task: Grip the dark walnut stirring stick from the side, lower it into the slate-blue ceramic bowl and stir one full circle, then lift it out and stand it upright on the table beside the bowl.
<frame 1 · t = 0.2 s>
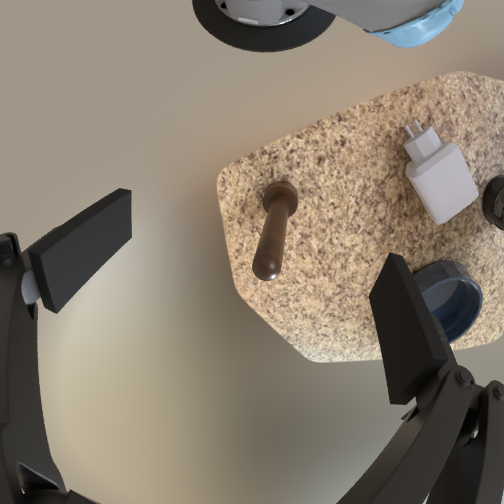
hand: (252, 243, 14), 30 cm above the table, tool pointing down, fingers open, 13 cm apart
bowl: (434, 297, 47), on the table
charger: (428, 162, 36), on the table
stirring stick: (281, 196, 43), on the table
french press: (501, 198, 35), on the table
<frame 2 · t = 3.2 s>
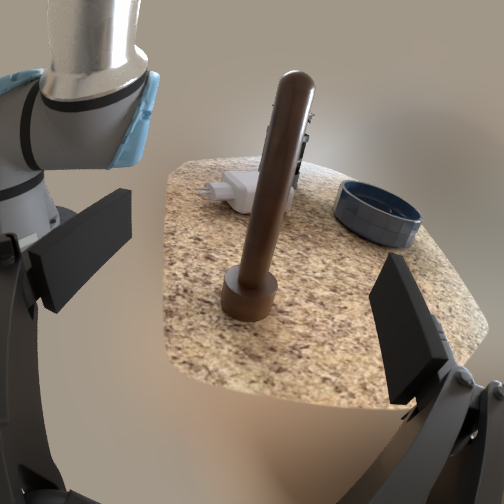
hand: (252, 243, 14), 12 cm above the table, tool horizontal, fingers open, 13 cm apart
bowl: (372, 226, 52), on the table
charger: (238, 204, 48), on the table
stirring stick: (245, 303, 28), on the table
french press: (275, 182, 63), on the table
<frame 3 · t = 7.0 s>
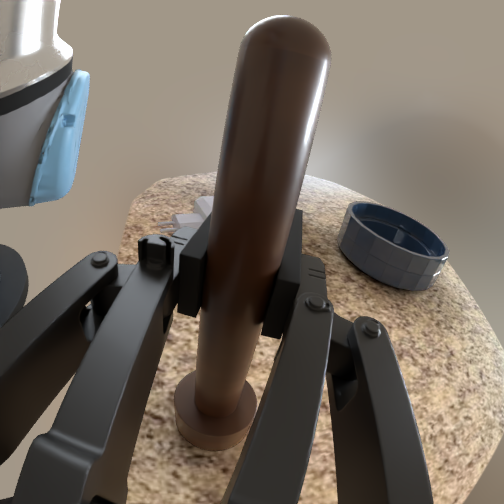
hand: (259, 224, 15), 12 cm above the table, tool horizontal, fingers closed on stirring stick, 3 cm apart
bowl: (386, 260, 42), on the table
charger: (215, 241, 37), on the table
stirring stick: (212, 418, 17), on the table, touching gripper
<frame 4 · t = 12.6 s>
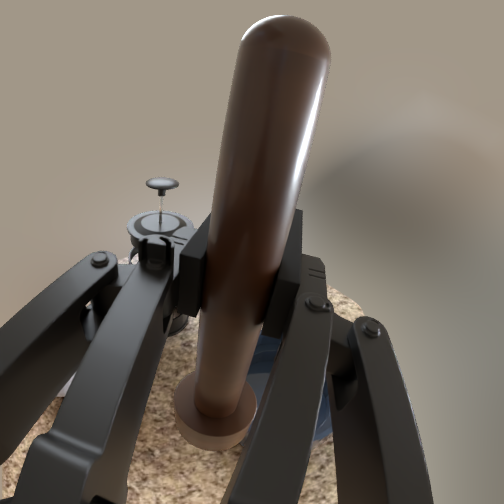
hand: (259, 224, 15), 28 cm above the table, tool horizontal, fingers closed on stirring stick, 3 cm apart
bowl: (277, 402, 35), on the table
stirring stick: (212, 419, 17), point 16 cm above the table, touching gripper
french press: (160, 314, 45), on the table
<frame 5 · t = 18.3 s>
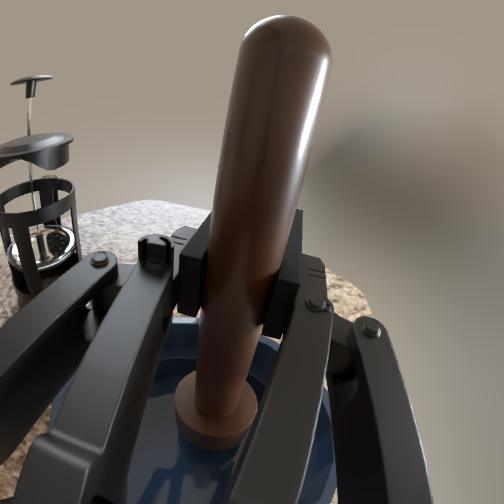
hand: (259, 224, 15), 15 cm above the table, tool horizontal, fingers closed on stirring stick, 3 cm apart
bowl: (194, 453, 16), on the table
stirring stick: (212, 419, 17), point 3 cm above the table, touching gripper
french press: (54, 291, 27), on the table
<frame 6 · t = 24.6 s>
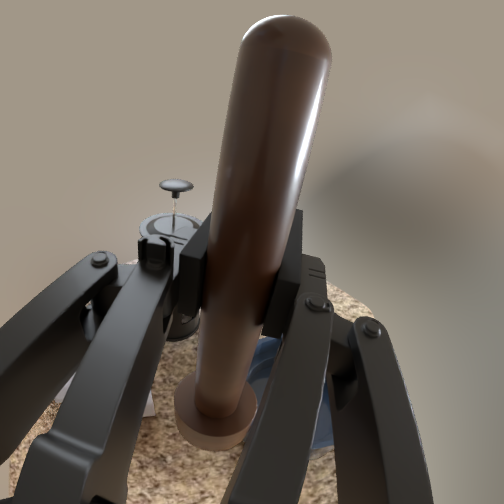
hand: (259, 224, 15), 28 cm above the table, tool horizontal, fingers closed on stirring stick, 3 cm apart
bowl: (290, 406, 35), on the table
charger: (97, 392, 30), on the table
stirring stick: (212, 419, 17), point 16 cm above the table, touching gripper
french press: (170, 318, 45), on the table
when the fingers open (12 cm above the table, at t = 29.6 s): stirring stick stays where it is, on the table.
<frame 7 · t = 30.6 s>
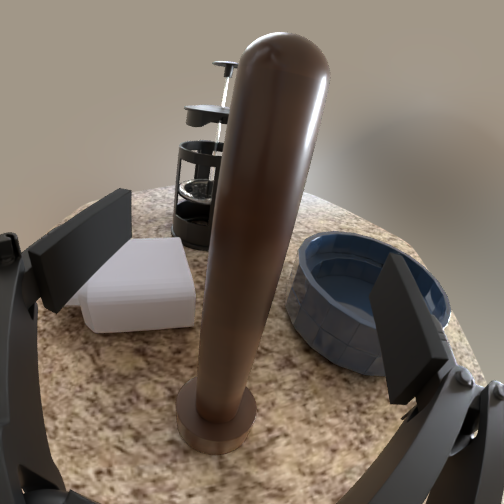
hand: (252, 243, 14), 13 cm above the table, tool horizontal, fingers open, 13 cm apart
bowl: (358, 317, 30), on the table
charger: (110, 303, 25), on the table
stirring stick: (213, 423, 17), on the table
french press: (203, 232, 40), on the table
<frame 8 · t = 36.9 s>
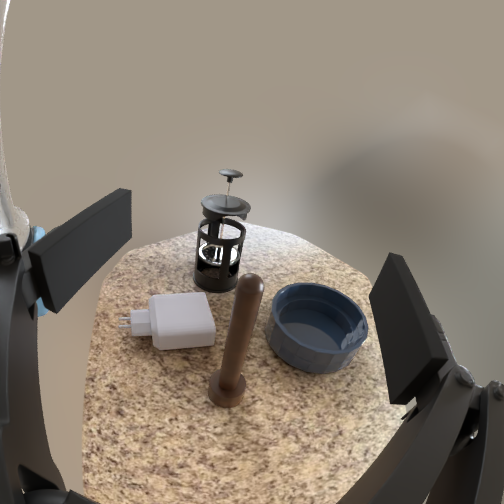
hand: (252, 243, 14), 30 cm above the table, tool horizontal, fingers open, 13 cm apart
bowl: (311, 337, 50), on the table
charger: (164, 331, 45), on the table
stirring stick: (225, 393, 37), on the table
french press: (214, 277, 60), on the table
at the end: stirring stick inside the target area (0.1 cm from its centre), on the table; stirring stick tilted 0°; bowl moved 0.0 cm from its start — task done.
